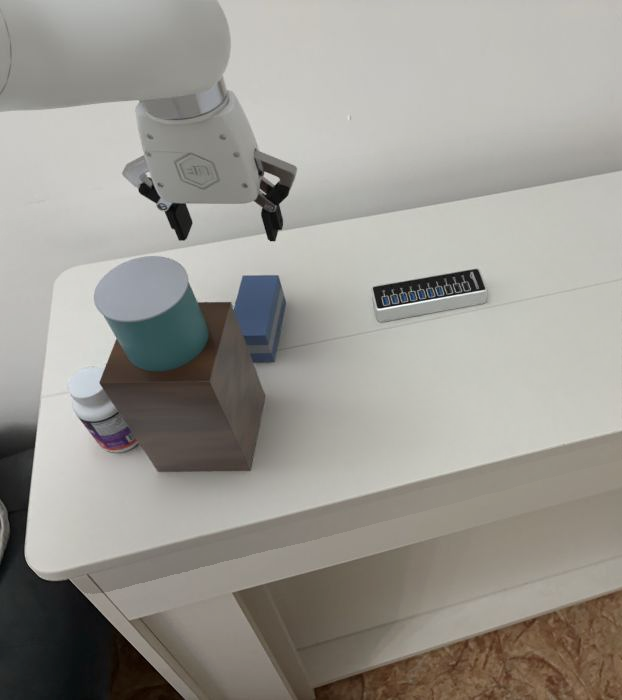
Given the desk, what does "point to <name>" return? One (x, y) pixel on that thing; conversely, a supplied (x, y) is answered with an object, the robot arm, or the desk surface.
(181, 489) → the desk surface
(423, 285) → the multiport hub
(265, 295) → the block
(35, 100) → the robot arm
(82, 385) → the pill bottle
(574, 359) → the desk surface
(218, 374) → the walnut crate
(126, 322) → the yogurt pot
